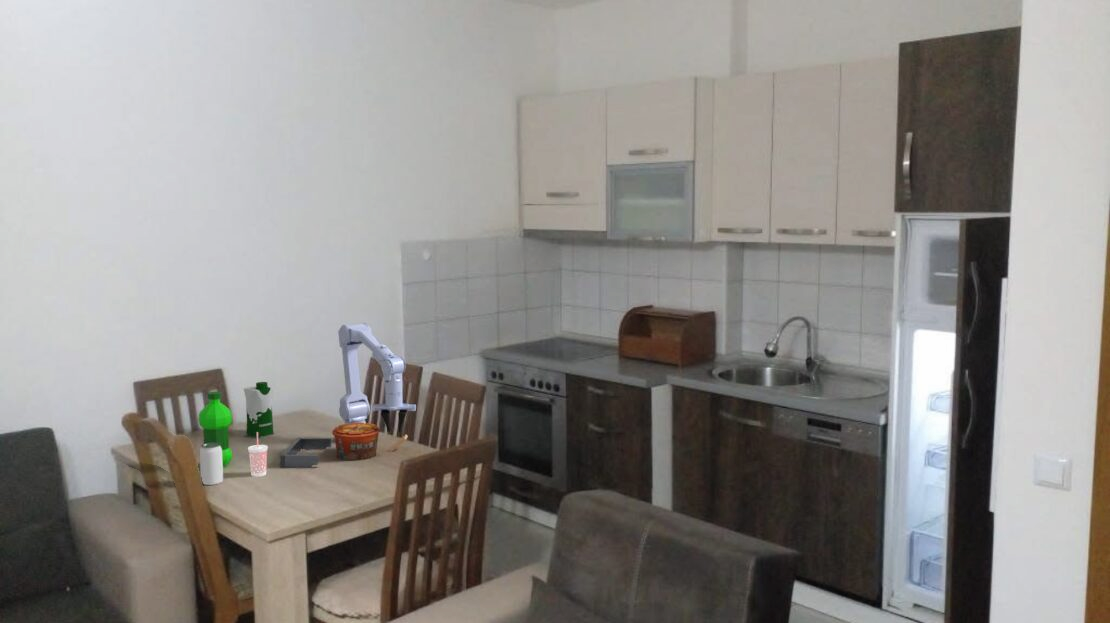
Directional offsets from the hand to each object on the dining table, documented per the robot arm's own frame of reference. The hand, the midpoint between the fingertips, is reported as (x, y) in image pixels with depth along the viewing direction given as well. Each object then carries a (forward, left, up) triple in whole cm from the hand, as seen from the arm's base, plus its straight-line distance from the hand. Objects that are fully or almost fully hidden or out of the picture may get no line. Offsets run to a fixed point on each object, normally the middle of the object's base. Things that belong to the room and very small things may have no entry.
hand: (394, 431), depth 299 cm
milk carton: (-30, -55, -10) cm, 63 cm away
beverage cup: (+18, -41, -10) cm, 46 cm away
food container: (0, -13, -10) cm, 16 cm away
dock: (0, -30, -9) cm, 31 cm away
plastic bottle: (+10, -57, -10) cm, 59 cm away
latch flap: (-7, 0, -7) cm, 10 cm away
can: (+26, -53, -10) cm, 60 cm away
